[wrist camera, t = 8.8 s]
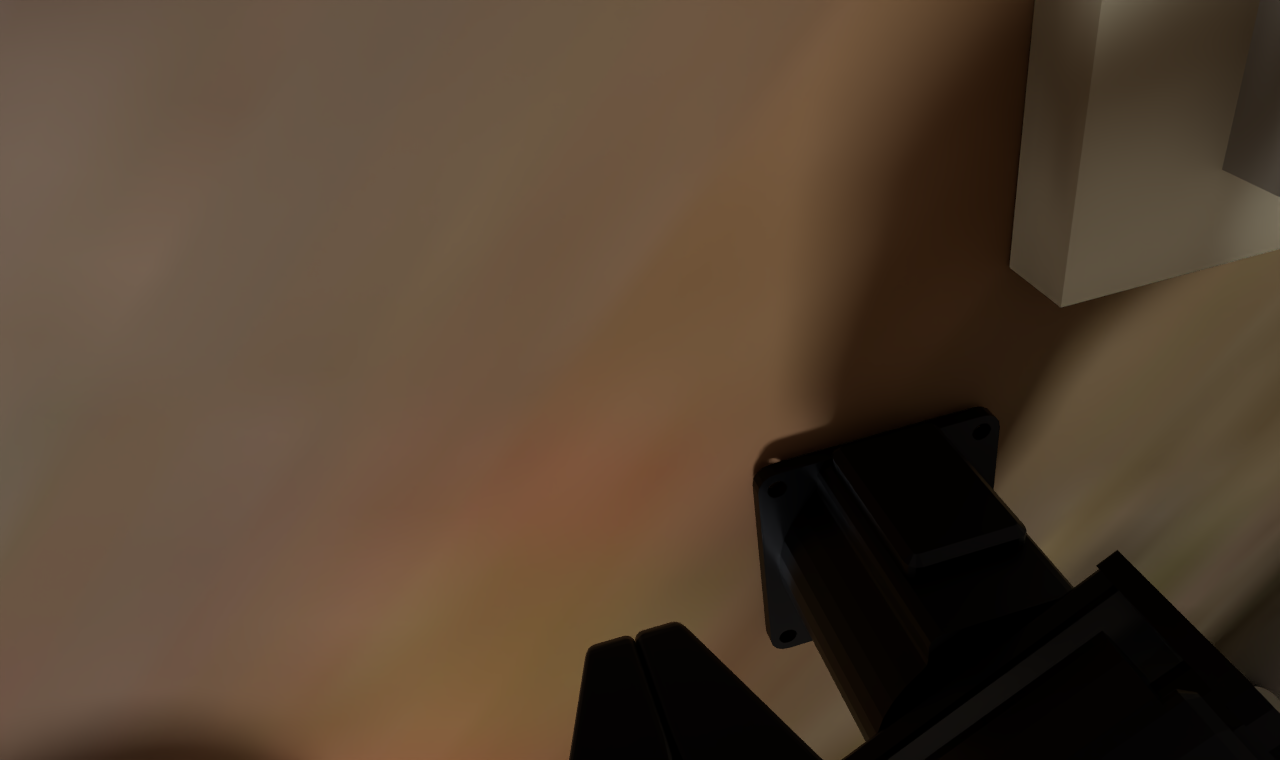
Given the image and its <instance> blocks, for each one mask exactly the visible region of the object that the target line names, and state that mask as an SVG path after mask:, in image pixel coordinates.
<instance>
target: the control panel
mask: <svg viewBox="0 0 1280 760" xmlns="http://www.w3.org/2000/svg"><path fill="white" fill-rule="evenodd" d="M1278 249H1280V0H1035V4H1034V15H1033V25H1032V36H1031V46H1030V57H1029V67H1028V78H1027V88H1026V98H1025V109H1024V119H1023V130H1022V140H1021V151H1020V161H1019V172H1018V182H1017V193H1016V203H1015V214H1014V224H1013V235H1012V245H1011V256H1010V266H1009V268H1011V269H1012V270H1013V271H1015V272H1016V273H1017V274H1018V275H1020V276H1021V277H1022V278H1023V279H1025V280H1026V281H1027V282H1029V283H1030V284H1031V285H1032V286H1034V287H1035V288H1036V289H1037V290H1039V291H1040V292H1041V293H1043V294H1044V295H1045V296H1046V297H1048V298H1049V299H1050V300H1052V301H1053V302H1054V303H1055V304H1057V305H1058V306H1059V307H1060V308H1062V307H1065V306H1069V305H1073V304H1077V303H1080V302H1084V301H1088V300H1091V299H1095V298H1099V297H1103V296H1106V295H1110V294H1114V293H1118V292H1121V291H1125V290H1129V289H1132V288H1136V287H1140V286H1144V285H1147V284H1151V283H1155V282H1159V281H1162V280H1166V279H1170V278H1173V277H1177V276H1181V275H1185V274H1188V273H1192V272H1196V271H1200V270H1203V269H1207V268H1211V267H1214V266H1218V265H1222V264H1226V263H1229V262H1233V261H1237V260H1240V259H1244V258H1248V257H1252V256H1255V255H1259V254H1263V253H1267V252H1270V251H1274V250H1278Z"/></svg>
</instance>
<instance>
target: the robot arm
mask: <svg viewBox="0 0 1280 760" xmlns="http://www.w3.org/2000/svg"><path fill="white" fill-rule="evenodd" d="M979 425H980V426H979ZM977 426H979V427H978V428H977V429H975V428H976V427H977ZM999 428H1000V426H999V421H998V420H997V418H996V417H995V416H994V415H993V414H992V413H991V412H990V411H989V410H988V409H987V408H984V407H974V408H970V409H967V410H963V411H960V412H956V413H952V414H949V415H945V416H942V417H938V418H934V419H931V420H927V421H924V422H920V423H917V424H913V425H909V426H906V427H902V428H899V429H895V430H892V431H888V432H884V433H881V434H877V435H874V436H870V437H867V438H863V439H859V440H856V441H852V442H849V443H845V444H841V445H838V446H834V447H831V448H827V449H824V450H820V451H816V452H813V453H809V454H806V455H802V456H799V457H795V458H791V459H788V460H784V461H781V462H777V463H773V464H770V465H768V466H766V467H763V468H762V469H761V470H760V471H759V472H757V474H756V475H755V477H754V479H753V494H754V505H755V516H756V527H757V537H758V548H759V559H760V570H761V580H762V591H763V602H764V613H765V624H766V631H767V634H768V636H769V638H770V640H771V642H772V645H773V646H775V647H776V648H780V649H785V648H790V647H793V646H797V645H800V644H803V643H806V642H810V641H813V642H814V644H815V646H816V647H817V649H818V651H819V653H820V655H821V657H822V659H823V661H824V663H825V665H826V667H827V668H828V670H829V672H830V674H831V676H832V678H833V680H834V682H835V684H836V686H837V688H838V689H839V691H840V693H841V695H842V697H843V699H844V701H845V703H846V705H847V707H848V709H849V711H850V712H851V714H852V716H853V718H854V720H855V722H856V724H857V726H858V728H859V730H860V732H861V733H862V735H863V737H864V739H865V741H866V742H865V743H863V744H862V745H861V746H859V747H858V748H857V749H855V750H854V751H853V752H851V753H850V754H849V755H847V756H846V757H845V758H843V759H842V760H1280V713H1279V712H1278V711H1277V710H1276V709H1275V708H1274V707H1273V706H1272V704H1271V703H1270V702H1269V701H1268V700H1267V699H1266V698H1265V697H1264V696H1263V695H1262V694H1261V693H1260V692H1259V691H1258V690H1257V689H1256V688H1255V687H1254V686H1253V685H1252V684H1251V683H1250V682H1249V681H1248V680H1247V679H1246V678H1245V677H1244V676H1243V675H1242V674H1241V673H1240V672H1239V671H1238V670H1237V669H1236V668H1235V667H1234V666H1233V665H1232V664H1231V663H1230V662H1229V661H1228V660H1227V659H1226V658H1225V657H1224V656H1223V655H1222V654H1221V653H1220V652H1219V651H1218V650H1217V649H1216V648H1215V647H1214V646H1213V645H1212V644H1211V643H1210V642H1209V641H1208V640H1207V639H1206V638H1205V637H1204V636H1203V635H1202V634H1201V633H1200V632H1199V631H1198V630H1197V629H1196V628H1195V627H1194V626H1193V625H1192V624H1191V623H1190V622H1189V621H1188V620H1187V619H1186V618H1185V617H1184V616H1183V615H1182V614H1181V613H1180V612H1179V611H1178V610H1177V609H1176V608H1175V607H1174V606H1173V605H1172V604H1171V603H1170V602H1169V601H1168V600H1167V599H1166V598H1165V597H1164V596H1163V595H1162V594H1161V593H1160V592H1159V591H1158V590H1157V589H1156V588H1155V587H1154V586H1153V585H1152V584H1151V583H1150V582H1149V581H1148V580H1147V579H1146V578H1145V577H1144V576H1143V575H1142V574H1141V573H1140V572H1139V571H1138V570H1137V569H1136V568H1135V567H1134V566H1133V565H1132V564H1131V563H1130V562H1129V561H1128V560H1127V559H1126V558H1125V557H1124V556H1123V555H1122V554H1121V553H1120V552H1119V551H1118V550H1116V551H1115V552H1114V553H1112V554H1111V555H1110V556H1108V557H1107V558H1106V559H1104V560H1103V561H1102V562H1100V563H1099V564H1098V565H1096V566H1097V567H1098V568H1099V570H1097V571H1096V572H1095V573H1093V574H1092V575H1090V576H1089V577H1088V578H1086V579H1085V580H1084V581H1082V582H1081V583H1080V584H1078V585H1077V586H1076V587H1073V586H1072V585H1071V584H1070V583H1069V581H1068V580H1067V579H1066V578H1065V577H1064V576H1063V575H1062V573H1061V572H1060V571H1059V570H1058V569H1057V568H1056V566H1055V565H1054V564H1053V563H1052V562H1051V561H1050V560H1049V558H1048V557H1047V556H1046V555H1045V554H1044V553H1043V551H1042V550H1041V549H1040V548H1039V547H1038V546H1037V545H1036V543H1035V542H1034V541H1033V540H1032V539H1031V538H1030V536H1029V535H1028V534H1027V533H1026V528H1025V526H1024V524H1023V523H1022V522H1021V521H1020V520H1019V519H1018V518H1017V516H1016V515H1015V514H1014V513H1013V512H1012V511H1011V509H1010V508H1009V507H1008V506H1007V505H1006V504H1005V503H1004V501H1003V500H1002V499H1001V498H1000V497H999V496H998V495H997V493H996V492H995V491H994V490H993V488H994V478H995V468H996V458H997V448H998V438H999ZM974 429H975V430H974ZM779 481H780V482H779ZM775 482H779V483H778V484H777V485H776V486H774V487H770V486H771V485H772V484H773V483H775ZM769 487H770V488H769ZM569 760H822V759H821V758H820V757H819V756H818V755H817V754H816V753H815V752H814V751H813V750H812V749H811V748H810V747H809V746H808V745H807V744H806V743H805V742H804V741H803V740H802V739H801V738H800V737H799V736H798V735H797V734H796V733H795V732H794V731H792V730H791V729H790V728H789V727H788V726H787V725H786V724H785V723H784V722H783V721H782V720H781V719H780V718H779V717H778V716H777V715H776V714H775V713H774V712H773V711H772V710H771V709H770V708H769V707H768V706H767V705H766V704H765V703H764V702H763V701H762V700H761V699H760V698H759V697H757V696H756V695H755V694H754V693H753V692H752V691H751V690H750V689H749V688H748V687H747V686H746V685H745V684H744V683H743V682H742V681H741V680H740V679H739V678H738V677H737V676H736V675H735V674H734V673H733V672H732V671H731V670H730V669H729V668H728V667H727V666H726V665H725V664H723V663H722V662H721V661H720V660H719V659H718V658H717V657H716V656H715V655H714V654H713V653H712V652H711V651H710V650H709V649H708V648H707V647H706V646H705V645H704V644H703V643H702V642H701V641H700V640H699V639H698V638H697V637H696V636H695V635H694V634H693V633H692V632H691V631H690V630H688V629H687V628H686V627H685V626H684V625H682V624H681V623H678V622H670V623H667V624H663V625H660V626H656V627H653V628H649V629H646V630H643V631H641V632H639V633H638V634H637V635H636V638H635V641H634V639H633V638H632V637H630V636H622V637H619V638H615V639H612V640H608V641H605V642H601V643H598V644H595V645H592V646H591V647H590V648H589V649H588V651H587V653H586V657H585V662H584V669H583V675H582V682H581V688H580V694H579V701H578V707H577V713H576V720H575V726H574V732H573V739H572V745H571V751H570V758H569Z"/></svg>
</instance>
